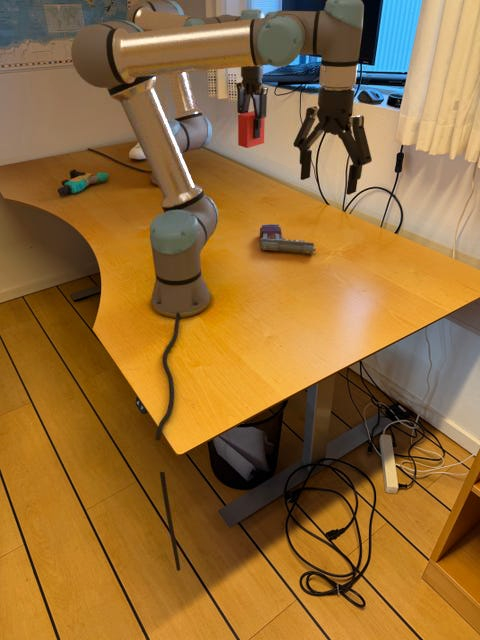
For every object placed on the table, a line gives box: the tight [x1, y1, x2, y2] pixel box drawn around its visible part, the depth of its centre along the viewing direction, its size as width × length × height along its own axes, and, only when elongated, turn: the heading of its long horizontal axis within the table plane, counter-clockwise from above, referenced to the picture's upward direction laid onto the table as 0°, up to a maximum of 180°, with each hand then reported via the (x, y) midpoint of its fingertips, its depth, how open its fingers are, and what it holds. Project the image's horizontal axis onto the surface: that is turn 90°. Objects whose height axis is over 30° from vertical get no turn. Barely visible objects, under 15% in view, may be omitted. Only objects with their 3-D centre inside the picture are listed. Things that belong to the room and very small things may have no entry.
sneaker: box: [128, 142, 147, 161], centre depth 226 cm, size 10×29×12 cm, turn 163°
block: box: [237, 110, 266, 149], centre depth 172 cm, size 5×9×11 cm, turn 134°
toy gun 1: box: [57, 168, 110, 197], centre depth 194 cm, size 4×26×15 cm
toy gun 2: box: [259, 223, 317, 255], centre depth 150 cm, size 4×19×15 cm
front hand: (327, 185), depth 112 cm, fingers open, 13 cm apart
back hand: (251, 136), depth 173 cm, fingers closed on block, 5 cm apart
